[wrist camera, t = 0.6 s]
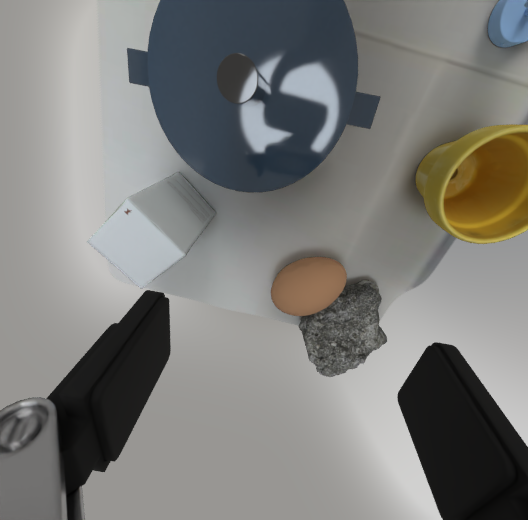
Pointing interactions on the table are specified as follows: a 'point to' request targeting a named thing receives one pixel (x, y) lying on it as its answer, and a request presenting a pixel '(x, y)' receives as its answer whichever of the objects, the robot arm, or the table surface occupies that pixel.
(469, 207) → the flower pot
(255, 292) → the table surface
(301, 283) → the egg
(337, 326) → the rock
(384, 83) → the table surface
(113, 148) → the table surface
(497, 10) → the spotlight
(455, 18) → the table surface
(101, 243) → the white packaging box
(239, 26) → the pot lid
